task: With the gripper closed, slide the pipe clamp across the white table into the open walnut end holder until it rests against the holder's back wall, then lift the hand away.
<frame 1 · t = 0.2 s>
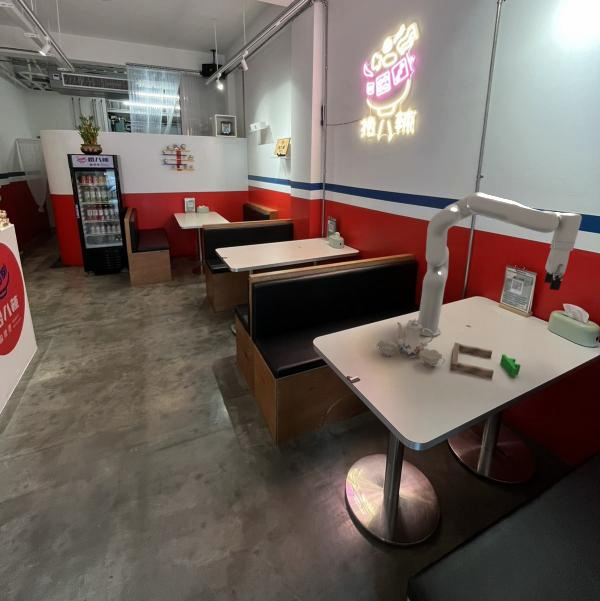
hand: (551, 286, 151), 31 cm above the table, tool pointing down, fingers open, 9 cm apart
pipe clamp: (509, 371, 147), on the table
end holder: (470, 362, 153), on the table
chinaware: (408, 356, 157), on the table
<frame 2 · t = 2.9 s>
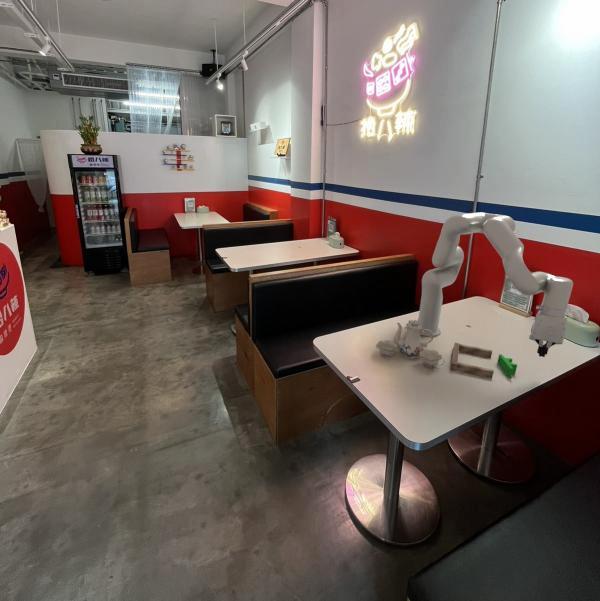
hand: (541, 355, 140), 9 cm above the table, tool pointing down, fingers closed
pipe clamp: (506, 371, 147), on the table
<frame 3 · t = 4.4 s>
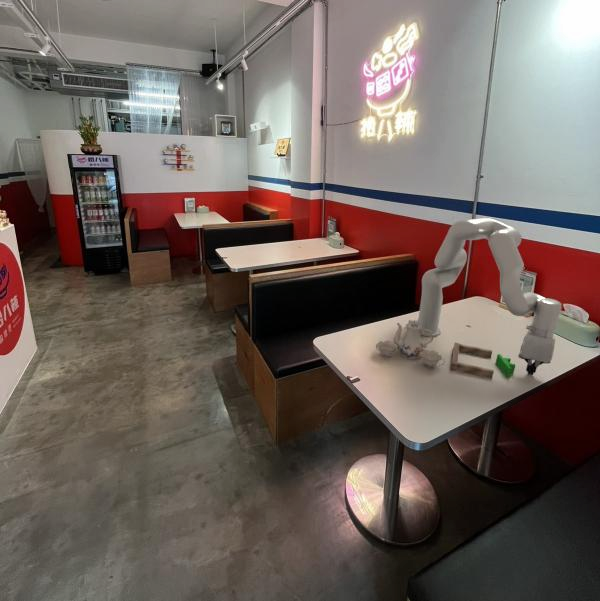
hand: (529, 373, 144), 1 cm above the table, tool pointing down, fingers closed
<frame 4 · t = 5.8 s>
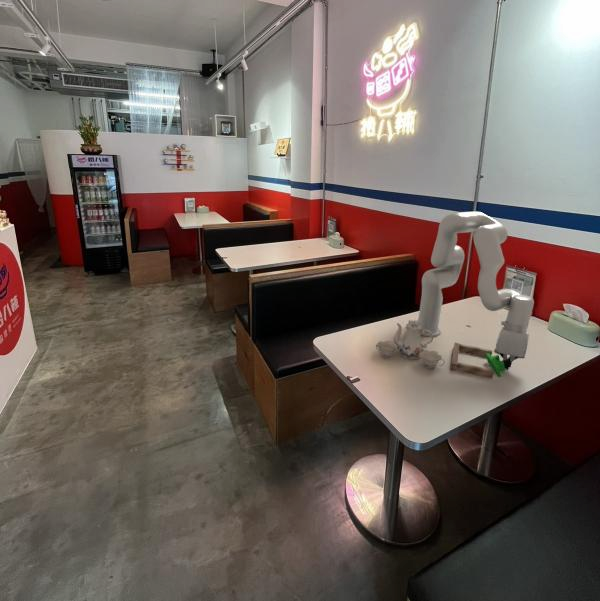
hand: (505, 368, 147), 1 cm above the table, tool pointing down, fingers closed
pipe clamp: (497, 369, 147), on the table, touching gripper
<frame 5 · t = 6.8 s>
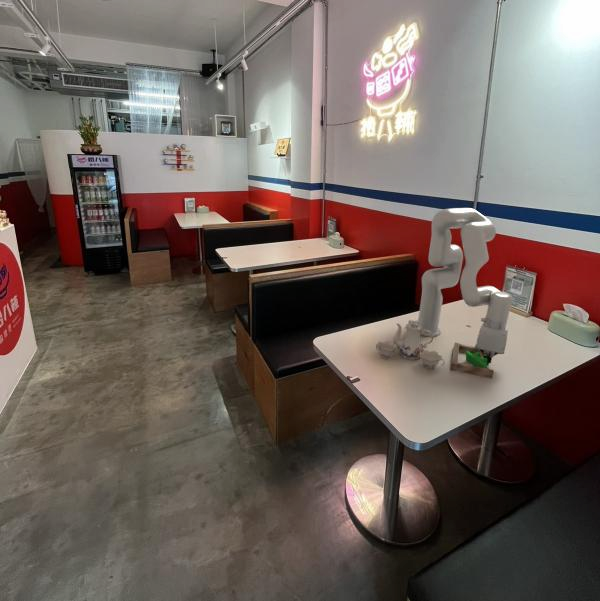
hand: (486, 363, 150), 1 cm above the table, tool pointing down, fingers closed
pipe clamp: (478, 366, 150), on the table, touching end holder, gripper
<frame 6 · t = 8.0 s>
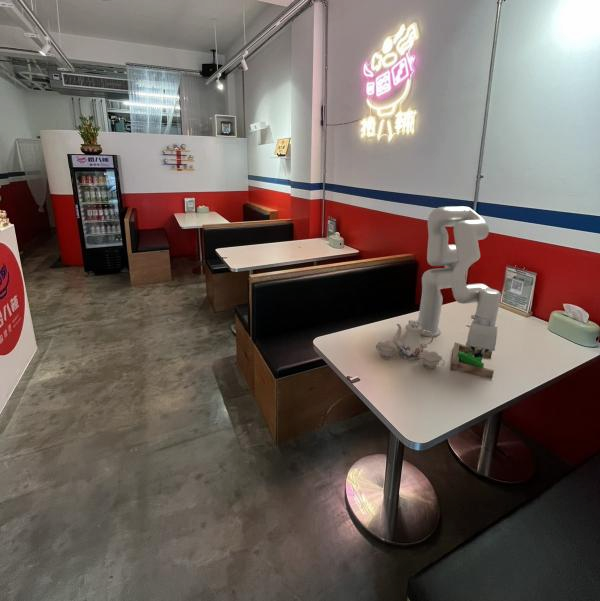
hand: (477, 361, 151), 1 cm above the table, tool pointing down, fingers closed
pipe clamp: (472, 365, 149), on the table, touching end holder, gripper
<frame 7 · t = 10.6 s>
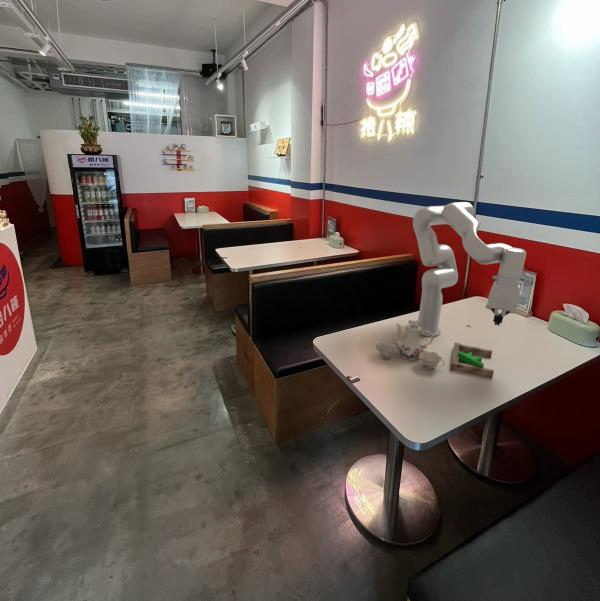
hand: (496, 324, 146), 18 cm above the table, tool pointing down, fingers closed
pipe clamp: (472, 366, 150), on the table, touching end holder
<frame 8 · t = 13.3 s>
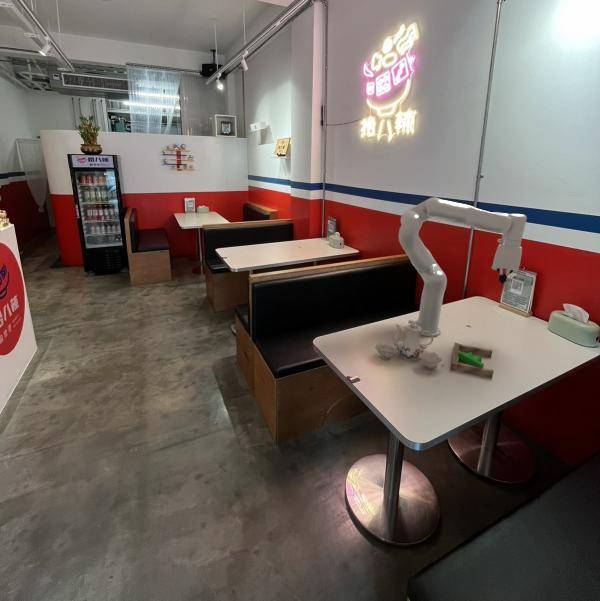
hand: (501, 282, 166), 27 cm above the table, tool pointing down, fingers closed
at the end: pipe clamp inside the target area on the end holder (4.7 cm from its centre), point 0.3 cm above the end holder's base; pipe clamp moved 14.4 cm from its start; the gripper is holding nothing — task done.
